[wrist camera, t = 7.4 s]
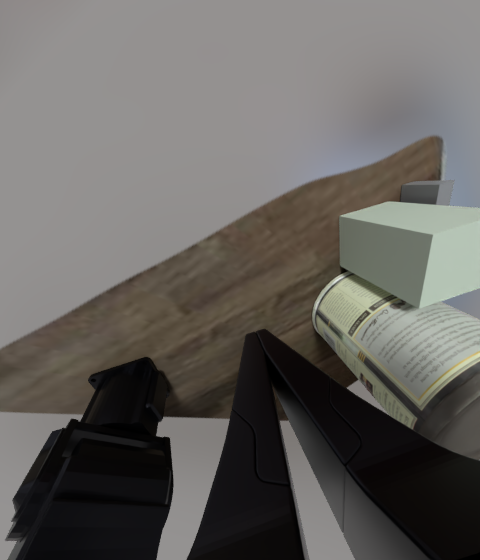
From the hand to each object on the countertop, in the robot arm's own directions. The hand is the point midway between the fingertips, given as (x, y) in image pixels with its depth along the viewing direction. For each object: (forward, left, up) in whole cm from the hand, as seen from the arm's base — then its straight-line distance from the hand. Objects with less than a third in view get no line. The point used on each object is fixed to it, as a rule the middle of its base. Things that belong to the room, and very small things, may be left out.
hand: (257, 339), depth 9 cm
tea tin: (+15, -2, -12) cm, 19 cm away
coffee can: (+13, -11, -13) cm, 21 cm away
